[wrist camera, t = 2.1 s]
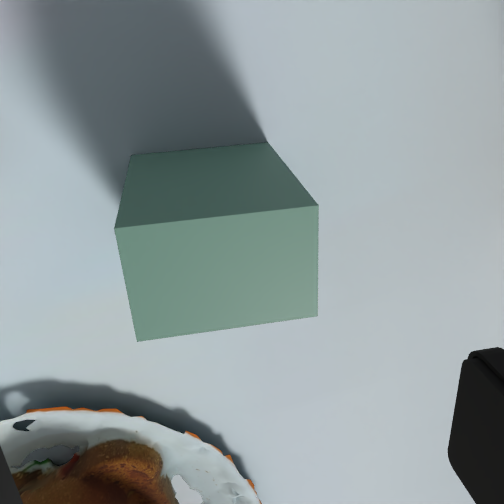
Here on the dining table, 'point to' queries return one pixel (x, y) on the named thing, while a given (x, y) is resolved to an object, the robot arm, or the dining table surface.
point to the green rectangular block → (216, 241)
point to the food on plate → (116, 460)
